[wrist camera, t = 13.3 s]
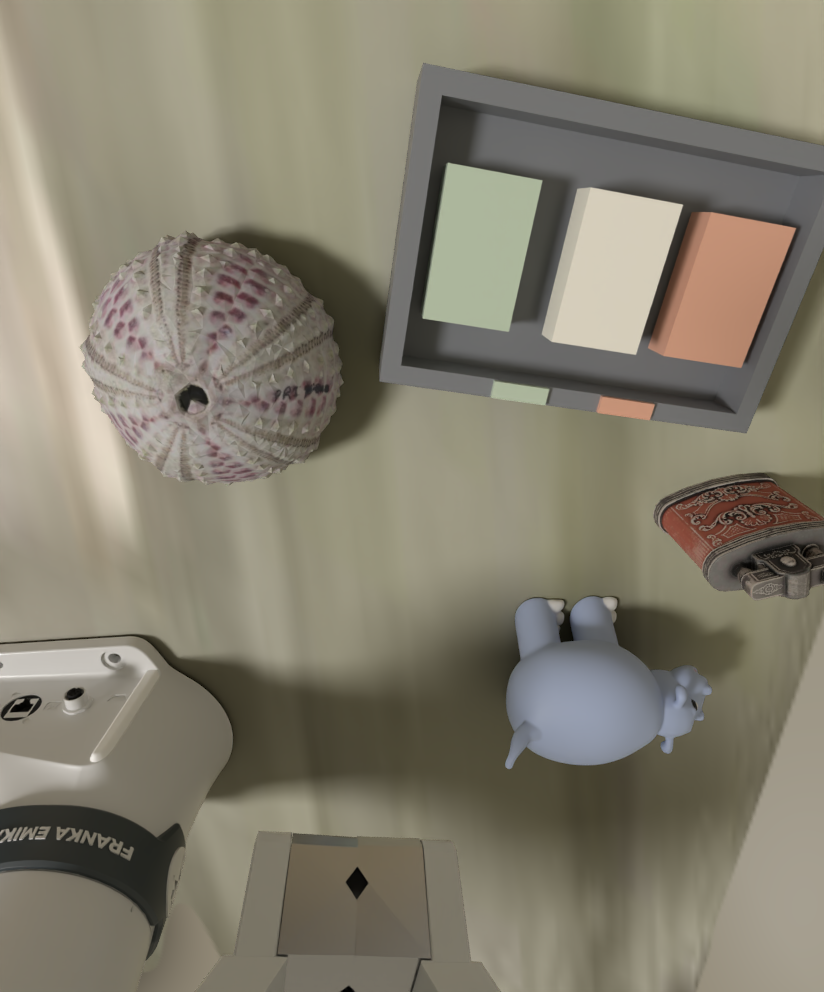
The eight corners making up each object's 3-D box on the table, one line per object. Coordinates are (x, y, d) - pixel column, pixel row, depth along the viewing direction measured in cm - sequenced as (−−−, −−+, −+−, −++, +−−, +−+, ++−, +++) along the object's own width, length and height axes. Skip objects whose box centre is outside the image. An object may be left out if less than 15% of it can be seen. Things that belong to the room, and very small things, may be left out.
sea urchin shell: (212, 173, 31) (162, 162, 23) (394, 365, 35) (399, 405, 28) (60, 352, 34) (-24, 391, 27) (245, 505, 39) (215, 573, 32)
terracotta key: (647, 348, 34) (663, 355, 32) (691, 212, 31) (711, 212, 29) (721, 359, 34) (741, 368, 32) (771, 226, 31) (796, 228, 29)
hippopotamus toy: (661, 703, 48) (723, 810, 40) (477, 709, 48) (499, 819, 39) (689, 592, 44) (766, 685, 35) (486, 596, 43) (514, 693, 34)
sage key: (420, 312, 32) (422, 318, 30) (443, 165, 29) (448, 162, 27) (501, 325, 33) (508, 331, 31) (532, 182, 30) (542, 180, 28)
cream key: (541, 334, 32) (551, 341, 30) (577, 188, 29) (590, 187, 27) (621, 346, 32) (635, 354, 31) (664, 205, 30) (683, 204, 28)
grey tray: (378, 363, 35) (379, 382, 31) (417, 80, 29) (423, 61, 25) (710, 411, 38) (749, 435, 34) (807, 160, 32) (867, 153, 28)
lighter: (655, 537, 41) (733, 628, 32) (651, 494, 40) (731, 578, 31) (771, 507, 41) (884, 591, 32) (772, 463, 39) (889, 539, 30)
